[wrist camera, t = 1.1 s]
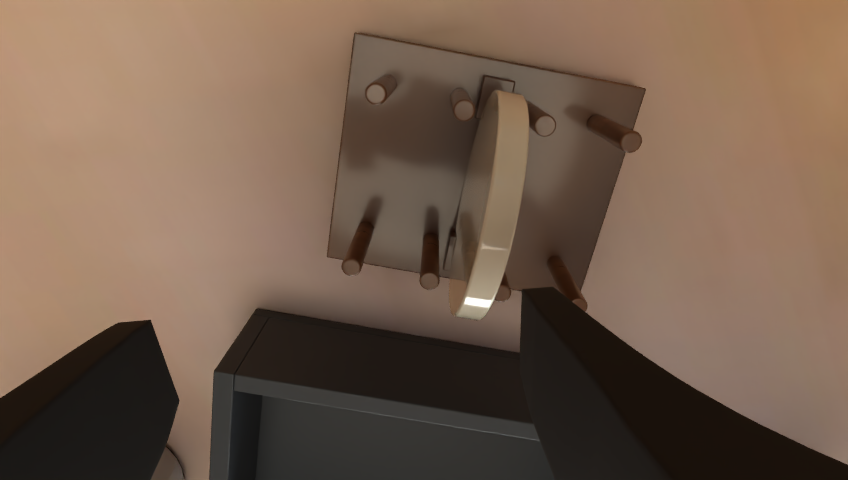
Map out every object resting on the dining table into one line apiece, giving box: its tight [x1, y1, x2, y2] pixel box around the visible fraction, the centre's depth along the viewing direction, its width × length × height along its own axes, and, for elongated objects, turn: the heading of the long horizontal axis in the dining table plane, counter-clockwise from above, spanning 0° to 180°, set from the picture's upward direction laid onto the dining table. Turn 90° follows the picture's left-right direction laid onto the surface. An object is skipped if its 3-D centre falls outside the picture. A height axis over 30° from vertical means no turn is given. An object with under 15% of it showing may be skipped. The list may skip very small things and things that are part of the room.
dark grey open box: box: [209, 309, 555, 480], centre depth 25 cm, size 18×13×5 cm
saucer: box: [449, 90, 529, 321], centre depth 18 cm, size 1×8×8 cm, turn 171°
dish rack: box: [327, 33, 646, 311], centre depth 20 cm, size 11×9×5 cm
